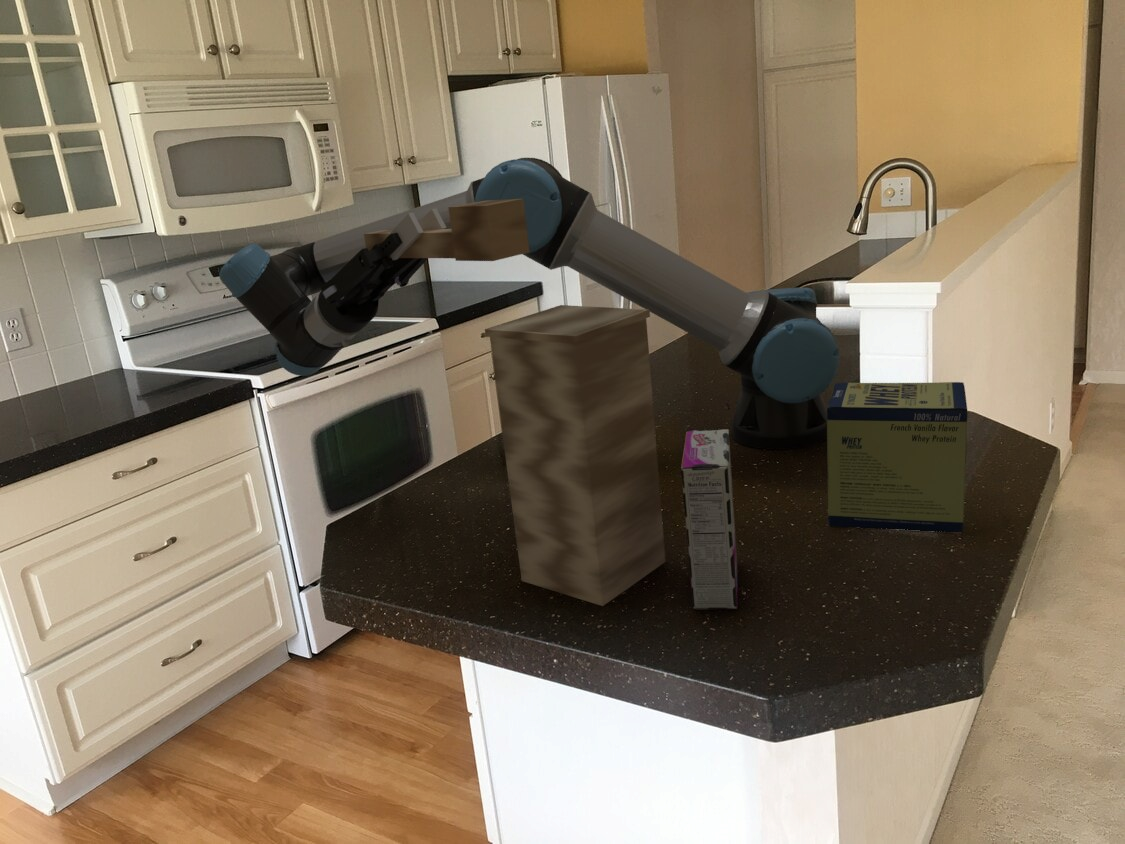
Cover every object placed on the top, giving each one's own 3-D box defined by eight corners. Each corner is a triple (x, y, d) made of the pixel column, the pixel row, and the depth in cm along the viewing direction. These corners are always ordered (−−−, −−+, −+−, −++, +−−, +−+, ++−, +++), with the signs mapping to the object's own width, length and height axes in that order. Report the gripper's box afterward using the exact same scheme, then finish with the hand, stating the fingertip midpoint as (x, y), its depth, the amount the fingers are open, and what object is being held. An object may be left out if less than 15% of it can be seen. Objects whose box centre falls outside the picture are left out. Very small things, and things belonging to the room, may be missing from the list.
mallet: (358, 259, 118) (350, 211, 116) (394, 251, 122) (387, 205, 120) (493, 261, 102) (486, 205, 101) (529, 252, 107) (523, 198, 105)
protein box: (965, 535, 108) (969, 407, 103) (826, 528, 113) (824, 406, 109) (962, 499, 117) (965, 380, 112) (834, 495, 123) (831, 381, 118)
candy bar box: (694, 563, 108) (684, 429, 103) (737, 562, 107) (730, 427, 102) (689, 611, 98) (679, 465, 93) (738, 611, 97) (730, 463, 92)
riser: (518, 581, 108) (484, 329, 99) (585, 539, 117) (560, 305, 108) (603, 608, 100) (575, 336, 91) (669, 561, 109) (649, 309, 100)
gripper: (399, 320, 134) (489, 237, 117) (305, 347, 122) (390, 259, 106) (375, 275, 134) (461, 185, 118) (279, 297, 123) (360, 201, 106)
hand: (427, 220), depth 112 cm, fingers closed on mallet, 3 cm apart
